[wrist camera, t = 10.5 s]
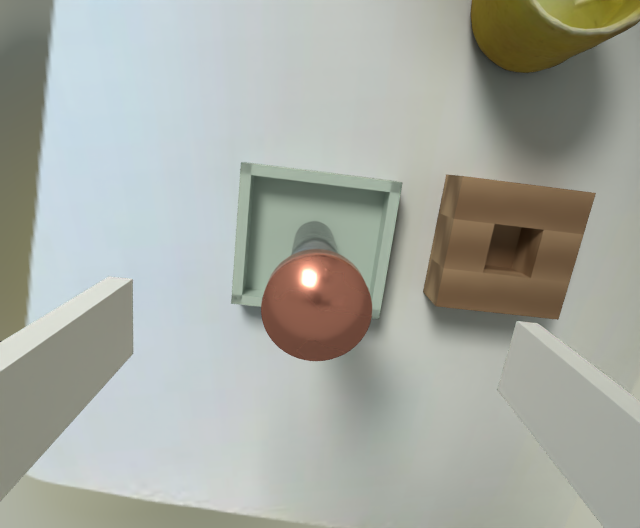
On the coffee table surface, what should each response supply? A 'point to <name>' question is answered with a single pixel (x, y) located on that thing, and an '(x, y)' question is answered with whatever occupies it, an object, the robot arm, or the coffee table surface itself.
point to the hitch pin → (316, 299)
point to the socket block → (505, 246)
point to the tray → (304, 206)
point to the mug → (546, 29)
